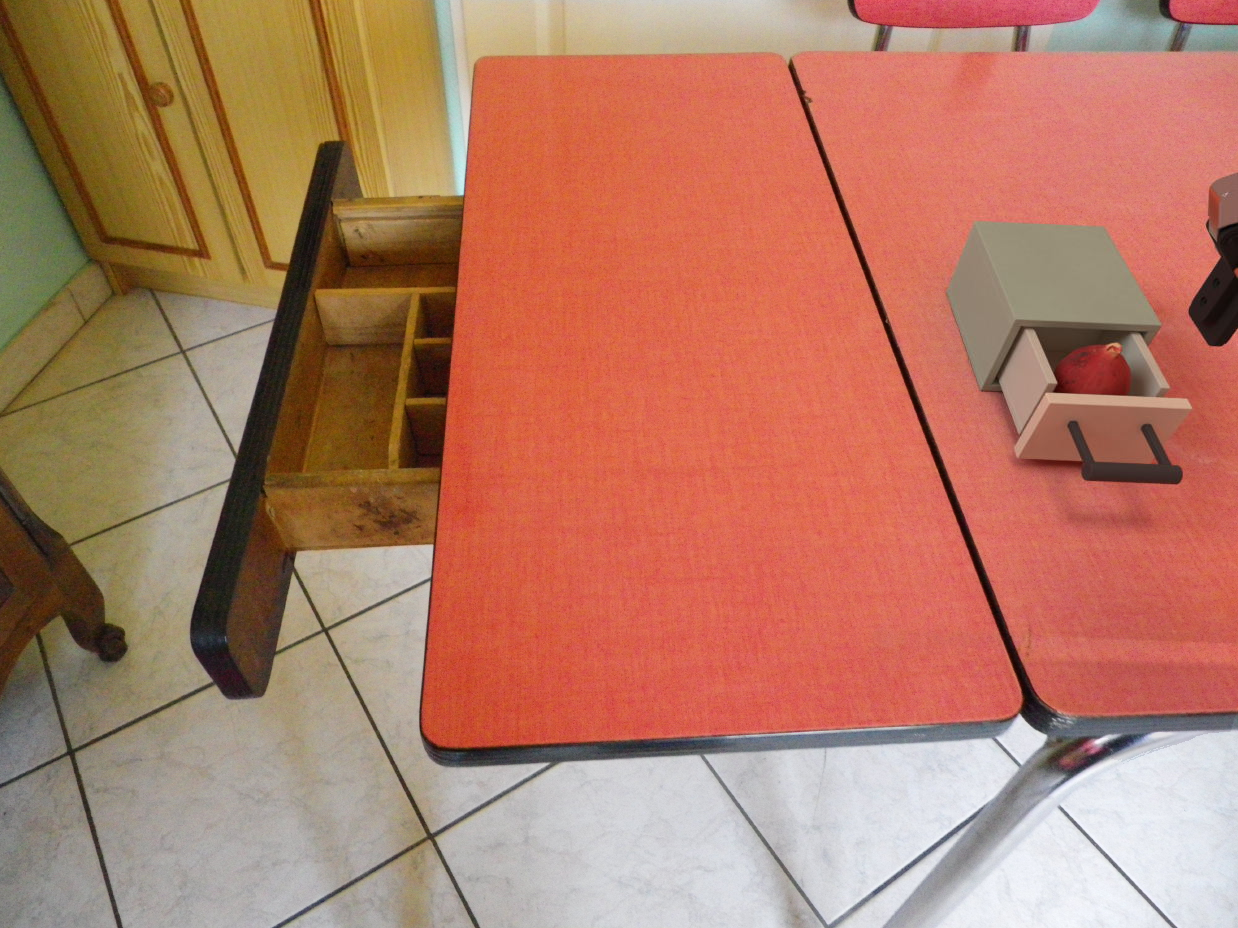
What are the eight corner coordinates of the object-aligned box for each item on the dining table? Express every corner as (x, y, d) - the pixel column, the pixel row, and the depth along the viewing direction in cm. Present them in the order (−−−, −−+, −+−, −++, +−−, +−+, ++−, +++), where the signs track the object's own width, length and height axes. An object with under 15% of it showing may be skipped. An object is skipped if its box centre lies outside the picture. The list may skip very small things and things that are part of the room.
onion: (1034, 423, 74) (1074, 355, 68) (1040, 381, 77) (1079, 312, 71) (1104, 444, 72) (1152, 376, 66) (1108, 400, 76) (1154, 332, 70)
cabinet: (1115, 396, 79) (1162, 325, 72) (980, 390, 79) (1015, 319, 72) (1066, 297, 88) (1104, 226, 82) (945, 292, 88) (974, 220, 82)
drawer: (1177, 519, 69) (1225, 465, 64) (1036, 513, 69) (1073, 458, 63) (1097, 356, 81) (1132, 300, 76) (978, 351, 81) (1004, 295, 76)
